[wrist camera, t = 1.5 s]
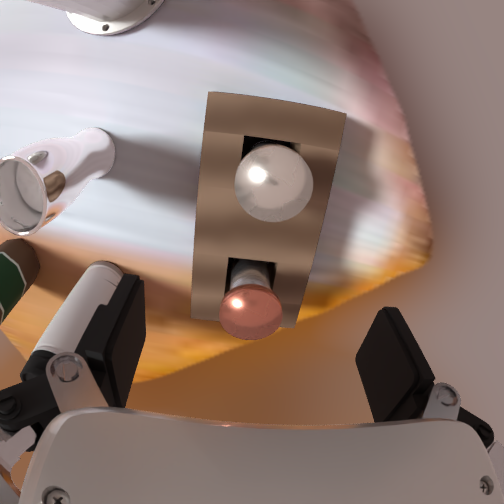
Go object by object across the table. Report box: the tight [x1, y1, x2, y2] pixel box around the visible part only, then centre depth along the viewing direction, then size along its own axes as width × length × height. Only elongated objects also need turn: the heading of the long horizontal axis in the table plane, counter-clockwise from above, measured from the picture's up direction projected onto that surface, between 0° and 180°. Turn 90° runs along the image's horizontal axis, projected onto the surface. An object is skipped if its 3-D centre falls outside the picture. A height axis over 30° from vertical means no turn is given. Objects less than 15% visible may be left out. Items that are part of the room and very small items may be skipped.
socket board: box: [191, 92, 346, 328], centre depth 33 cm, size 24×12×6 cm, turn 172°
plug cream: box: [234, 141, 313, 222], centre depth 26 cm, size 6×6×8 cm
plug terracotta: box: [219, 258, 283, 340], centre depth 32 cm, size 6×6×8 cm
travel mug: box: [20, 261, 124, 382], centre depth 31 cm, size 6×7×20 cm
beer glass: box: [0, 127, 115, 236], centre depth 25 cm, size 7×7×15 cm
